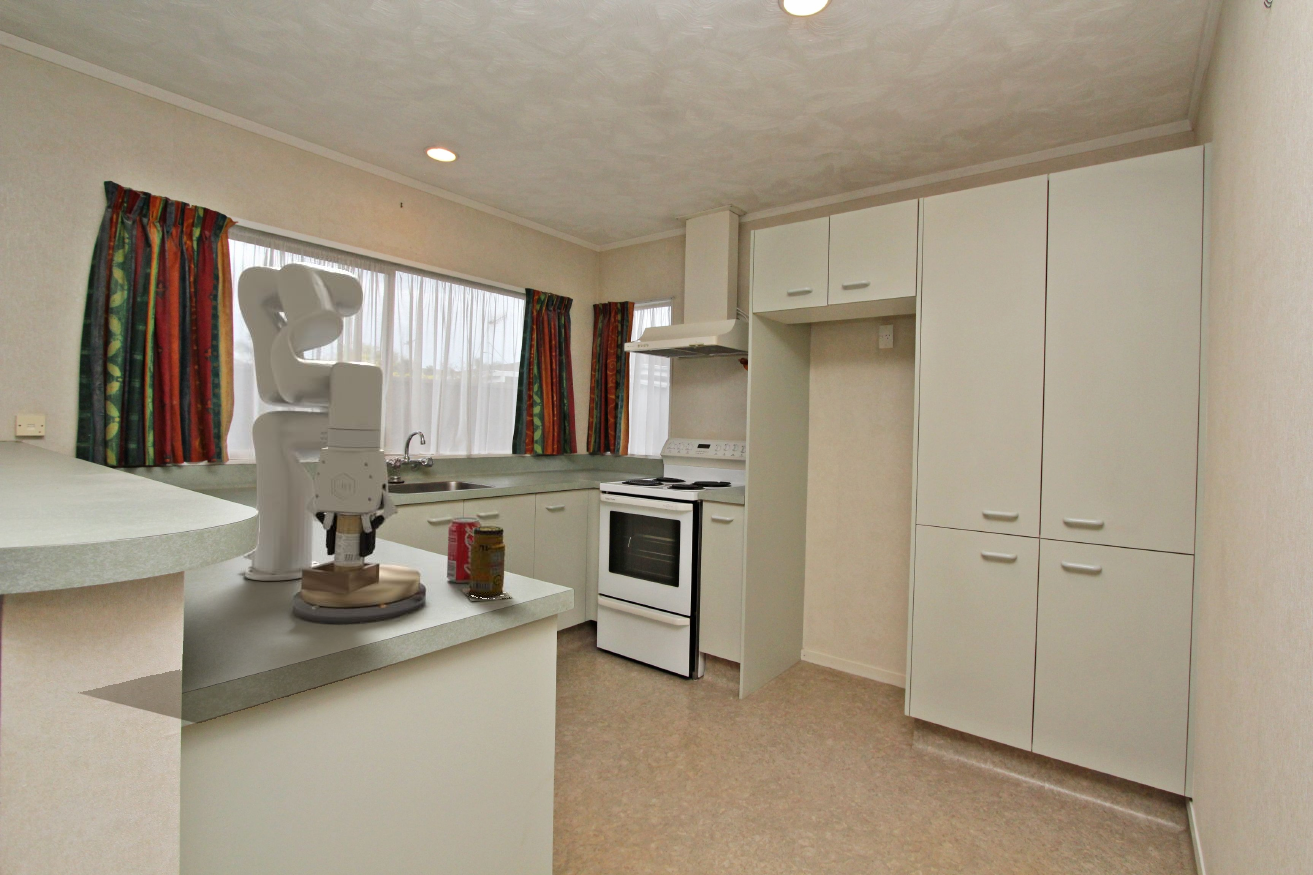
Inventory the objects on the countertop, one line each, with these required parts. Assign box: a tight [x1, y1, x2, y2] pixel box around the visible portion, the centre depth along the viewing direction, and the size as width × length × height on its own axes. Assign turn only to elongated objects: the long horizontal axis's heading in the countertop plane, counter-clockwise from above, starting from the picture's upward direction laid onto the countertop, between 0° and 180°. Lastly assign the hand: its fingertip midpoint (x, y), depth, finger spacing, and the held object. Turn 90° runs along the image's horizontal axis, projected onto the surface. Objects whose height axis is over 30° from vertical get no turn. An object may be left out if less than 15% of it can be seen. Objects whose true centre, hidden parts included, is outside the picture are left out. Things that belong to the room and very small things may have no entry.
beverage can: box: [446, 516, 482, 584], centre depth 120 cm, size 6×6×12 cm
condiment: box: [461, 525, 513, 602], centre depth 112 cm, size 7×8×12 cm
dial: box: [300, 560, 421, 607], centre depth 103 cm, size 18×18×5 cm
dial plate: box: [292, 582, 427, 625], centre depth 103 cm, size 20×20×2 cm
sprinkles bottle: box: [333, 513, 366, 573], centre depth 98 cm, size 5×5×14 cm
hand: (350, 553), depth 98 cm, fingers closed on sprinkles bottle, 4 cm apart
